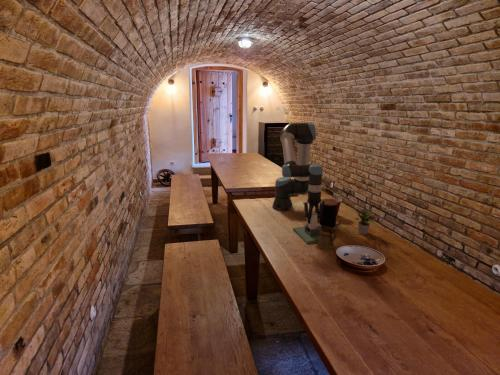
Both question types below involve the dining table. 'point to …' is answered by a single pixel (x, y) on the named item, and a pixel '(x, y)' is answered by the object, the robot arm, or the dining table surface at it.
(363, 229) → the house plant
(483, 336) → the dining table surface
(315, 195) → the robot arm
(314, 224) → the plug
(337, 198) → the plastic cup
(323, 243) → the wooden mug
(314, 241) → the board
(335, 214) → the coffee jar
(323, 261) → the dining table surface
